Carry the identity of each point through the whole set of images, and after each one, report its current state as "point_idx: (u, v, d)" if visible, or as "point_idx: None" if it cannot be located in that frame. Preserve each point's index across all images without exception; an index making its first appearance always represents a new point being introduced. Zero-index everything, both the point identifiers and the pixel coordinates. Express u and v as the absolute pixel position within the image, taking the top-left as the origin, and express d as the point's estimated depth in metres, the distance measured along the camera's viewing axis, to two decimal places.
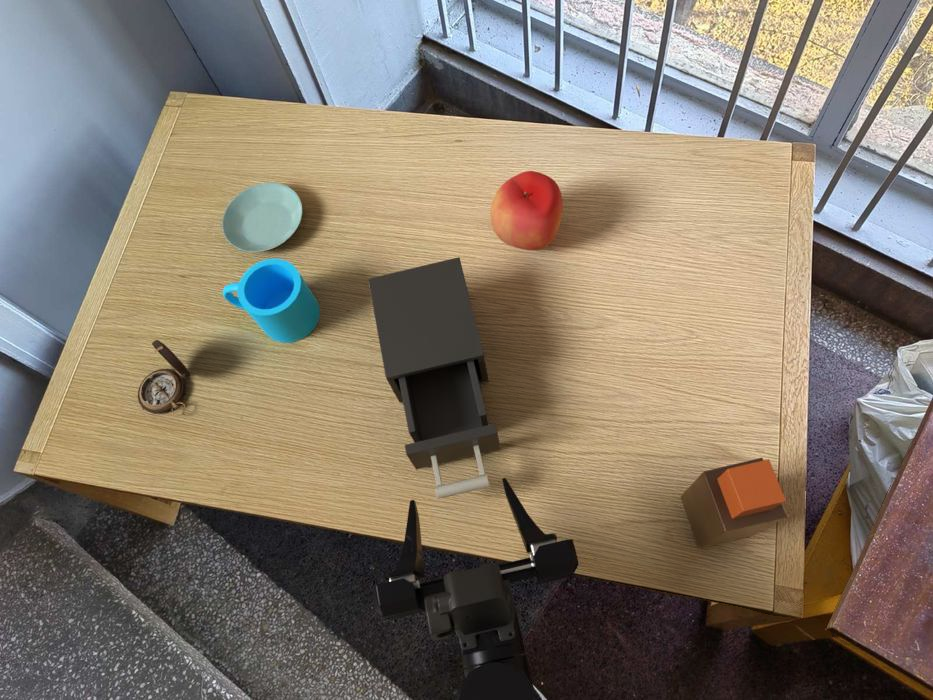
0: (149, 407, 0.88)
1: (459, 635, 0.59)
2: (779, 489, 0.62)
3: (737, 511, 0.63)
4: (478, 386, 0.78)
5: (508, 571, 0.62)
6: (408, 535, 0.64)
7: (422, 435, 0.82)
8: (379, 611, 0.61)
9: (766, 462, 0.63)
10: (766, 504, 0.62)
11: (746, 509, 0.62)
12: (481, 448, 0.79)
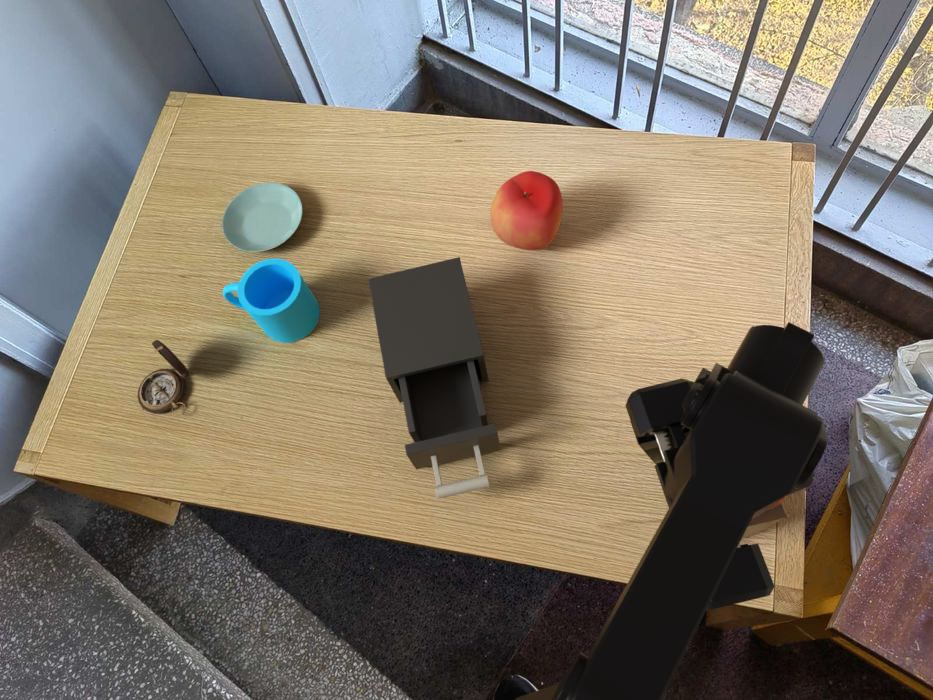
0: (149, 407, 0.88)
1: None
2: None
3: None
4: (478, 386, 0.78)
5: None
6: None
7: (422, 435, 0.82)
8: (686, 380, 0.60)
9: None
10: None
11: None
12: (481, 448, 0.79)
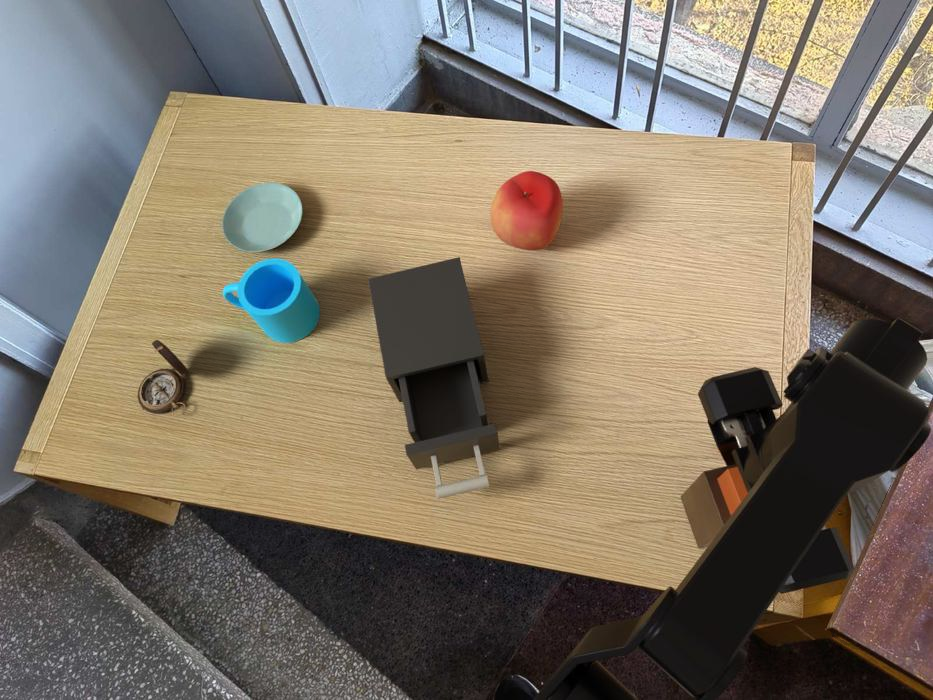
0: (149, 407, 0.88)
1: None
2: None
3: None
4: (478, 386, 0.78)
5: None
6: None
7: (422, 435, 0.82)
8: (760, 368, 0.61)
9: None
10: None
11: None
12: (481, 448, 0.79)
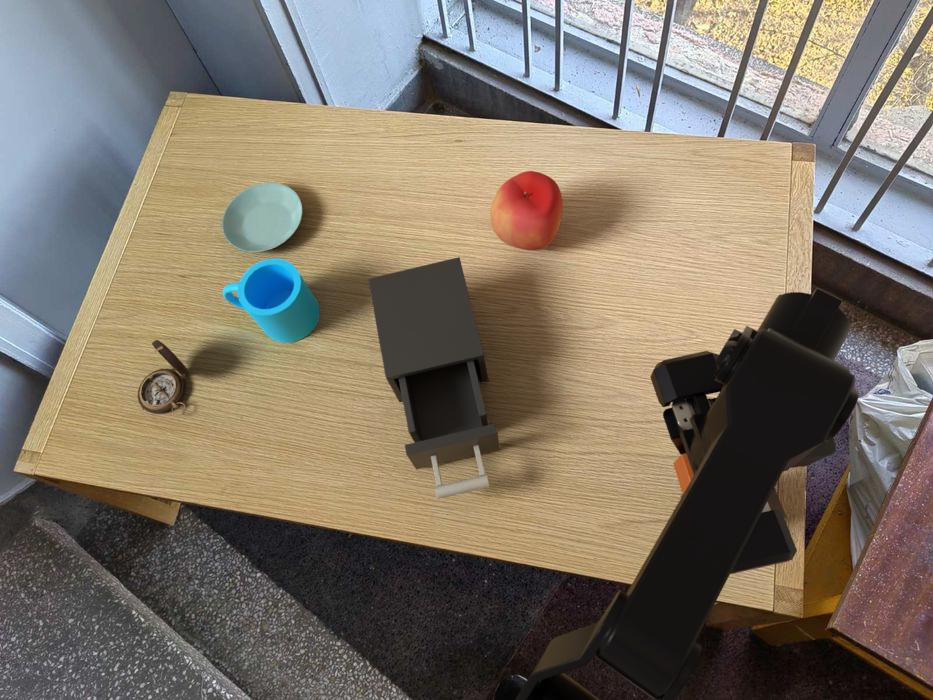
0: (149, 407, 0.88)
1: None
2: None
3: None
4: (478, 386, 0.78)
5: None
6: None
7: (422, 435, 0.82)
8: (711, 352, 0.61)
9: None
10: None
11: None
12: (481, 448, 0.79)
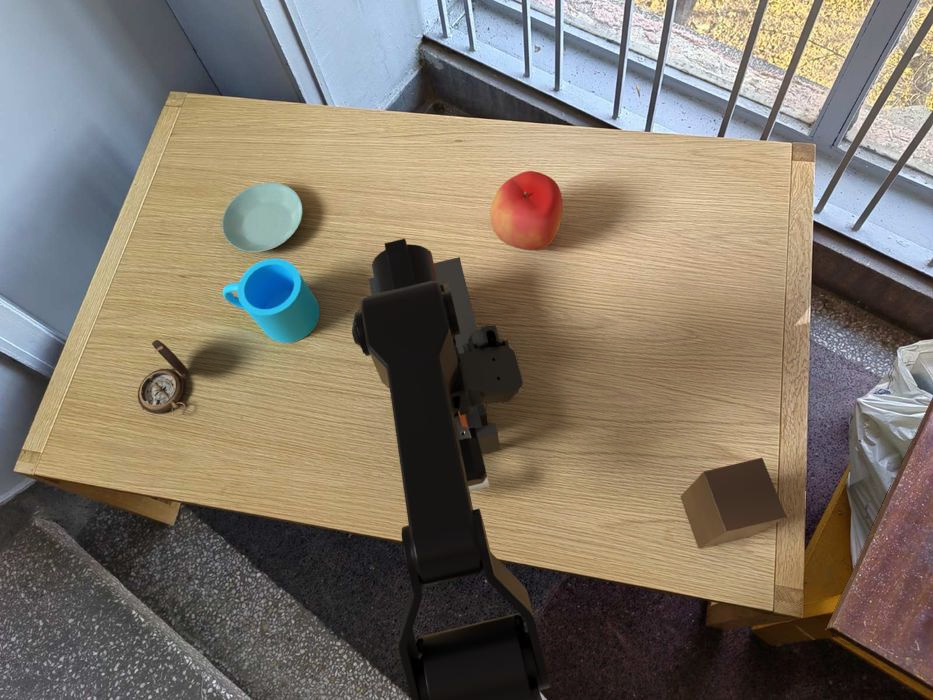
0: (149, 407, 0.88)
1: None
2: None
3: None
4: None
5: None
6: None
7: None
8: None
9: None
10: None
11: None
12: (481, 448, 0.79)
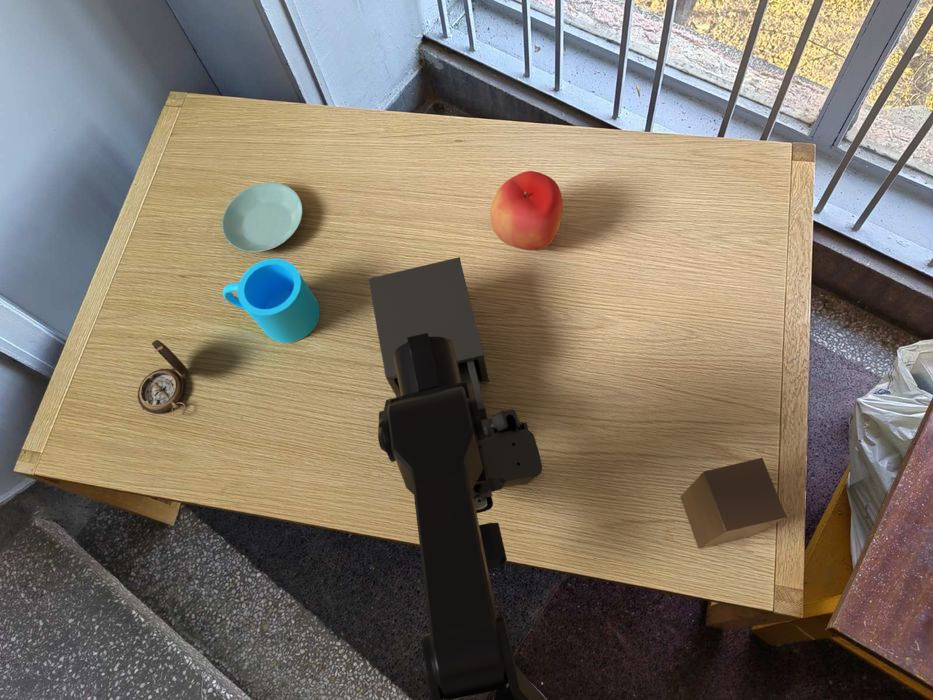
0: (149, 407, 0.88)
1: None
2: None
3: None
4: (477, 380, 0.78)
5: None
6: None
7: None
8: None
9: None
10: None
11: None
12: None
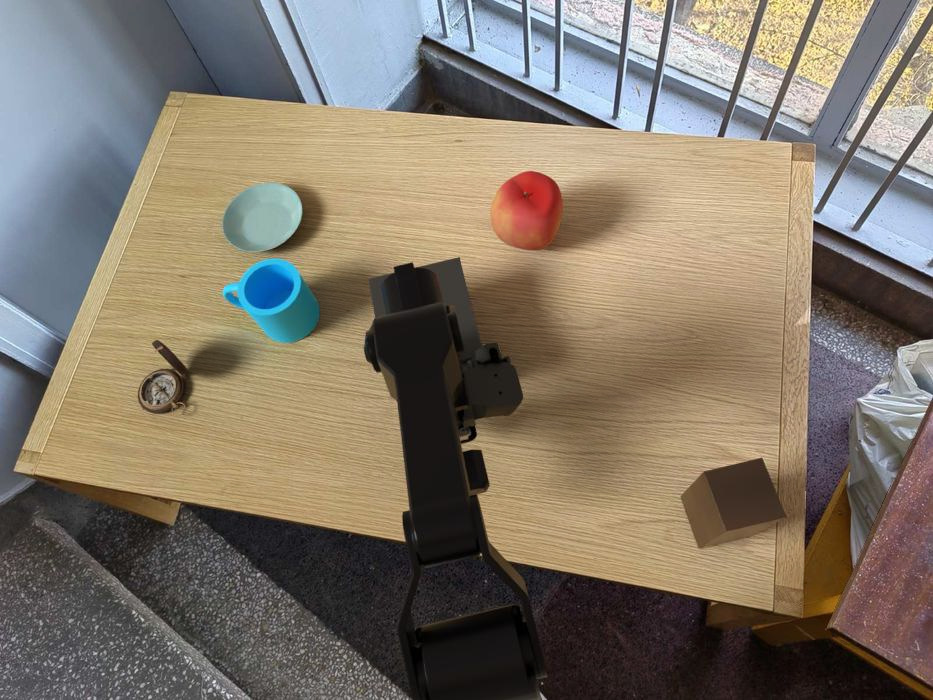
0: (149, 407, 0.88)
1: None
2: None
3: None
4: None
5: None
6: None
7: None
8: None
9: None
10: None
11: None
12: None
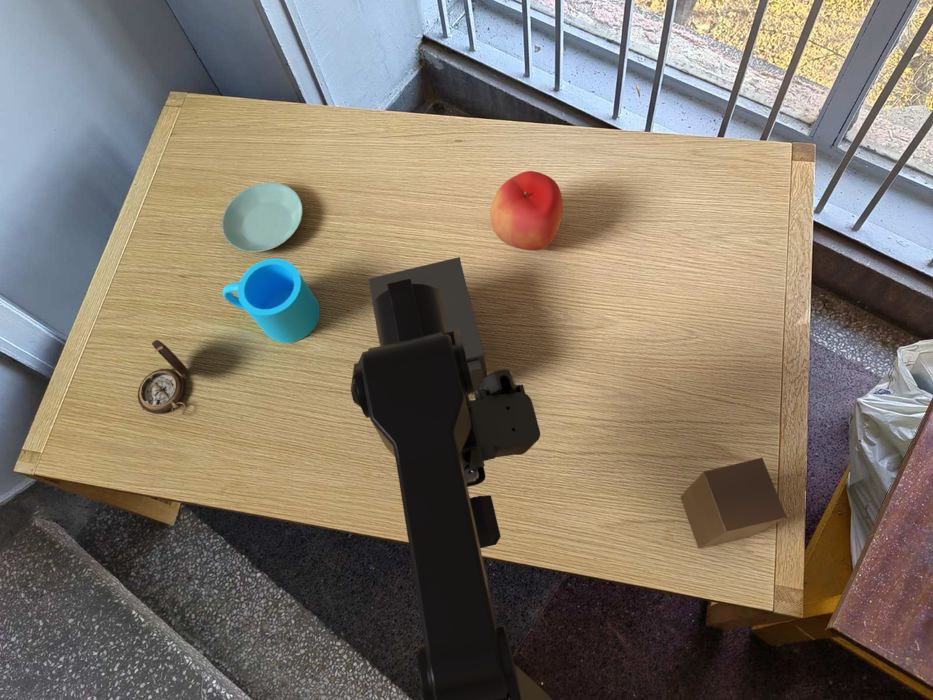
0: (149, 407, 0.88)
1: None
2: None
3: None
4: None
5: None
6: None
7: None
8: None
9: None
10: None
11: None
12: None
